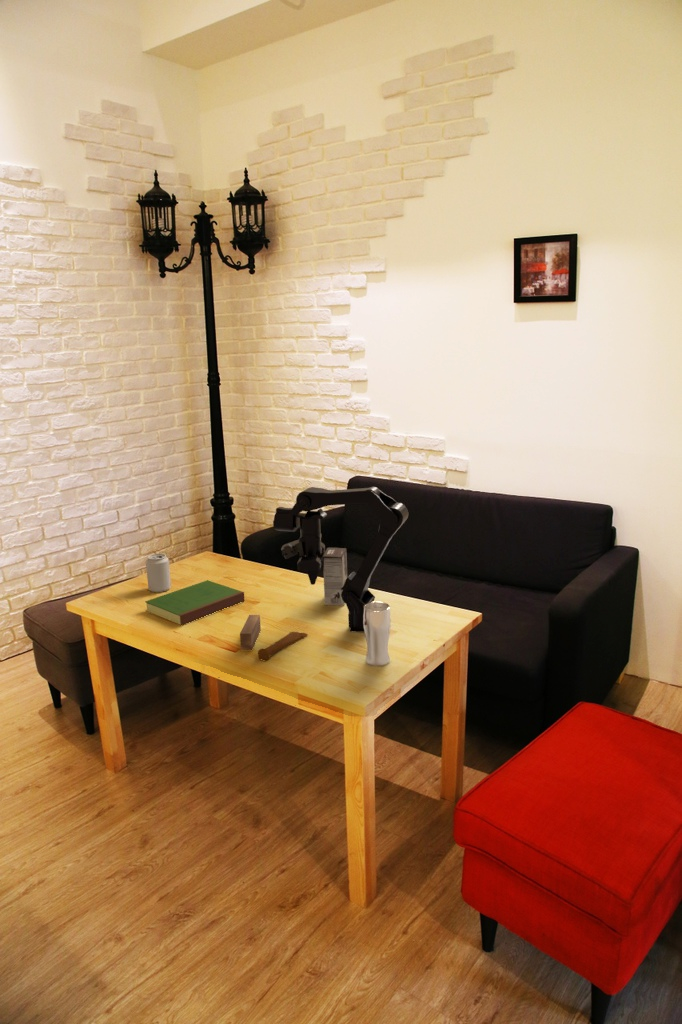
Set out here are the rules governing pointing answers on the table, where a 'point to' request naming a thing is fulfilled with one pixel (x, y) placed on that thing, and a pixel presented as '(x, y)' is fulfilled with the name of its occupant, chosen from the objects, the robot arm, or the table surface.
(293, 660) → the table surface
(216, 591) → the hardcover book
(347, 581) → the robot arm
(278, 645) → the primitive tool
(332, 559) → the coffee box
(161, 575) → the can
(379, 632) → the beer glass
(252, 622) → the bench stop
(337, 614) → the table surface
